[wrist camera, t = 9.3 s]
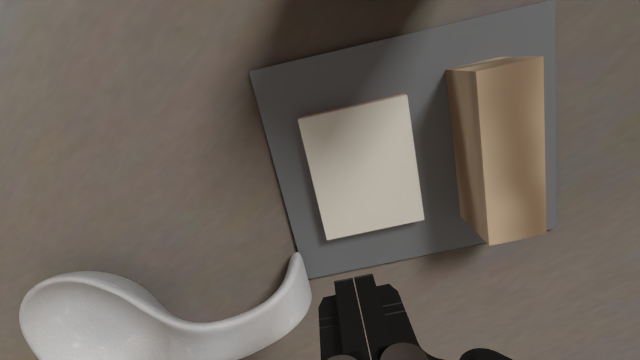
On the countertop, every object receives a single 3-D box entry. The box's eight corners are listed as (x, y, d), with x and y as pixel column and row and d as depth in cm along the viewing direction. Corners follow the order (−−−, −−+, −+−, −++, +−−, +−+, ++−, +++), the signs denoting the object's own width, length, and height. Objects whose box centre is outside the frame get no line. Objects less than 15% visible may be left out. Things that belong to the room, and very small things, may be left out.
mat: (305, 277, 32) (305, 279, 31) (249, 71, 26) (248, 71, 25) (553, 225, 31) (557, 228, 30) (552, 0, 25) (555, -2, 24)
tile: (425, 213, 29) (335, 218, 32) (408, 92, 26) (310, 110, 29) (422, 237, 26) (322, 240, 29) (403, 101, 23) (292, 120, 26)
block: (460, 216, 30) (489, 245, 25) (445, 69, 26) (476, 71, 21) (508, 206, 29) (546, 234, 25) (500, 57, 26) (543, 56, 21)
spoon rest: (83, 368, 34) (26, 444, 27) (24, 265, 31) (-60, 324, 24) (321, 321, 33) (322, 390, 26) (289, 207, 29) (280, 253, 22)
